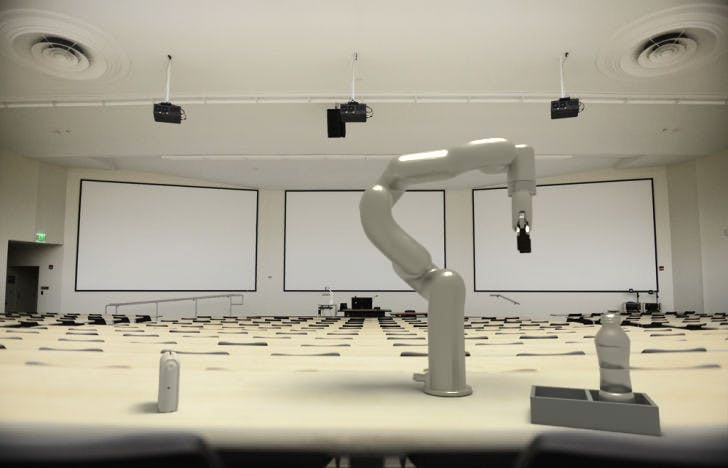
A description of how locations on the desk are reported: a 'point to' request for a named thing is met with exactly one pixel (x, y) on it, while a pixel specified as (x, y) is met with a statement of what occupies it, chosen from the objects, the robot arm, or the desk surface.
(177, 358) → the grey rounded block
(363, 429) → the desk surface
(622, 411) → the grey divided tray
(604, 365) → the plastic bottle
